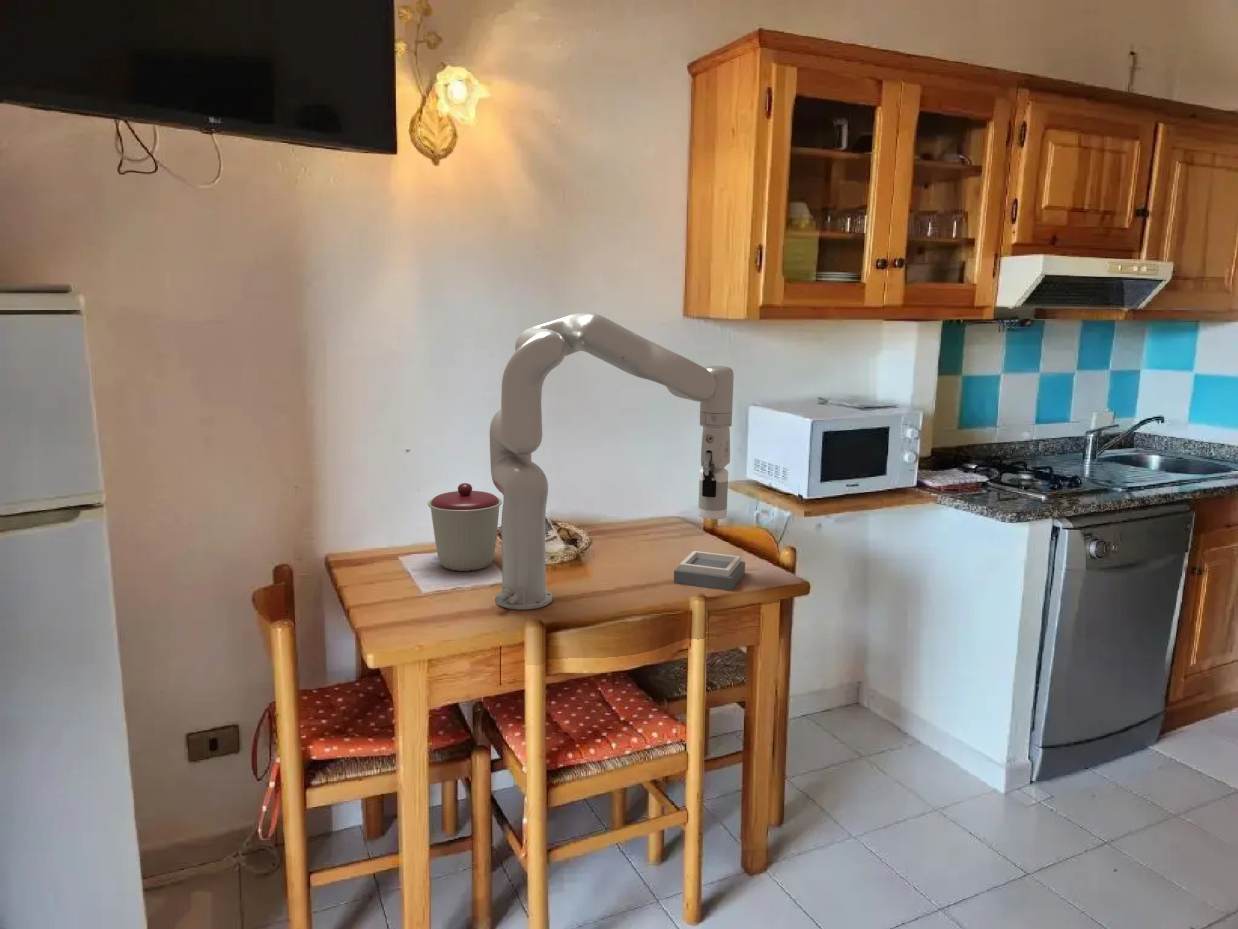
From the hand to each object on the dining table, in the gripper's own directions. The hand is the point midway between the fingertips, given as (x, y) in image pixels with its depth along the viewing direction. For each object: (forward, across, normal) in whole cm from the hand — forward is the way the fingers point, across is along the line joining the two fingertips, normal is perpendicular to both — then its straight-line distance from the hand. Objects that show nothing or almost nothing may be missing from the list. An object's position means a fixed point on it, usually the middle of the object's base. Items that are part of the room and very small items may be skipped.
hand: (713, 492), depth 202 cm
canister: (+21, -15, +59) cm, 65 cm away
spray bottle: (+6, 0, 0) cm, 6 cm away
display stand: (+21, 0, 0) cm, 21 cm away
